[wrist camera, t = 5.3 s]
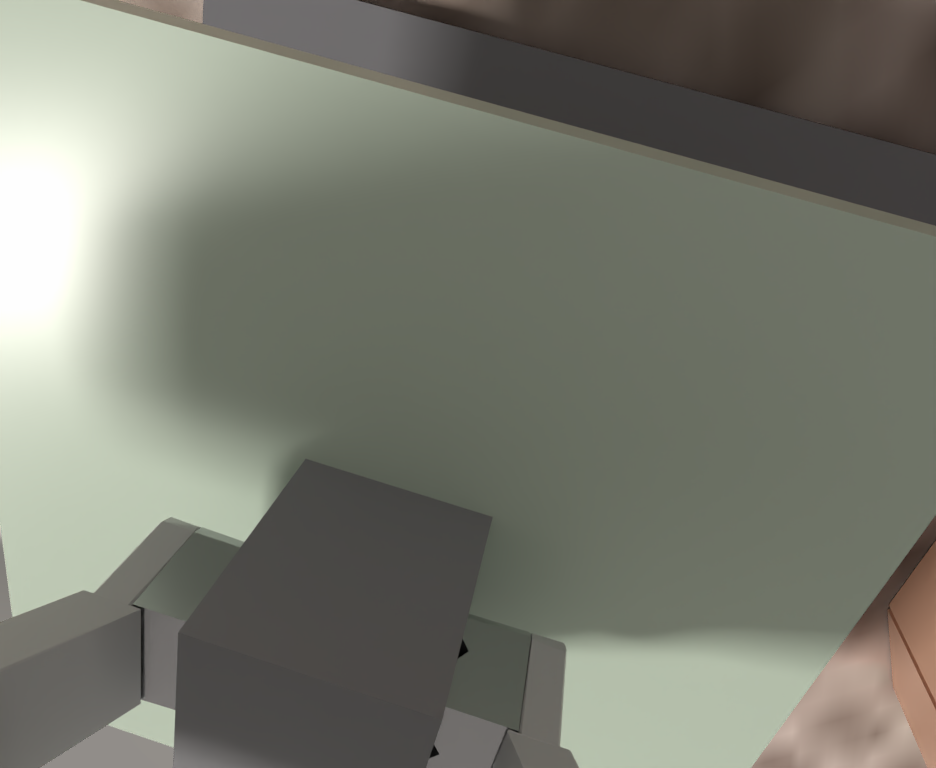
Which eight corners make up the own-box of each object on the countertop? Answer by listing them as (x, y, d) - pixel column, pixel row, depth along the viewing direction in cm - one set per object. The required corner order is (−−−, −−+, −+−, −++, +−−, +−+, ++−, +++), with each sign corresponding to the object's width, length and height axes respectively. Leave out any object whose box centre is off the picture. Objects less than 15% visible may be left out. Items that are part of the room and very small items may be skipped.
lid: (55, 659, 16) (-132, 868, 12) (-9, -35, 9) (-492, -94, 5) (645, 858, 15) (657, 1152, 11) (1050, 257, 8) (1459, 457, 4)
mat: (191, 533, 22) (180, 545, 21) (220, -37, 14) (205, -40, 14) (677, 698, 21) (679, 715, 20) (984, 167, 13) (999, 171, 13)
